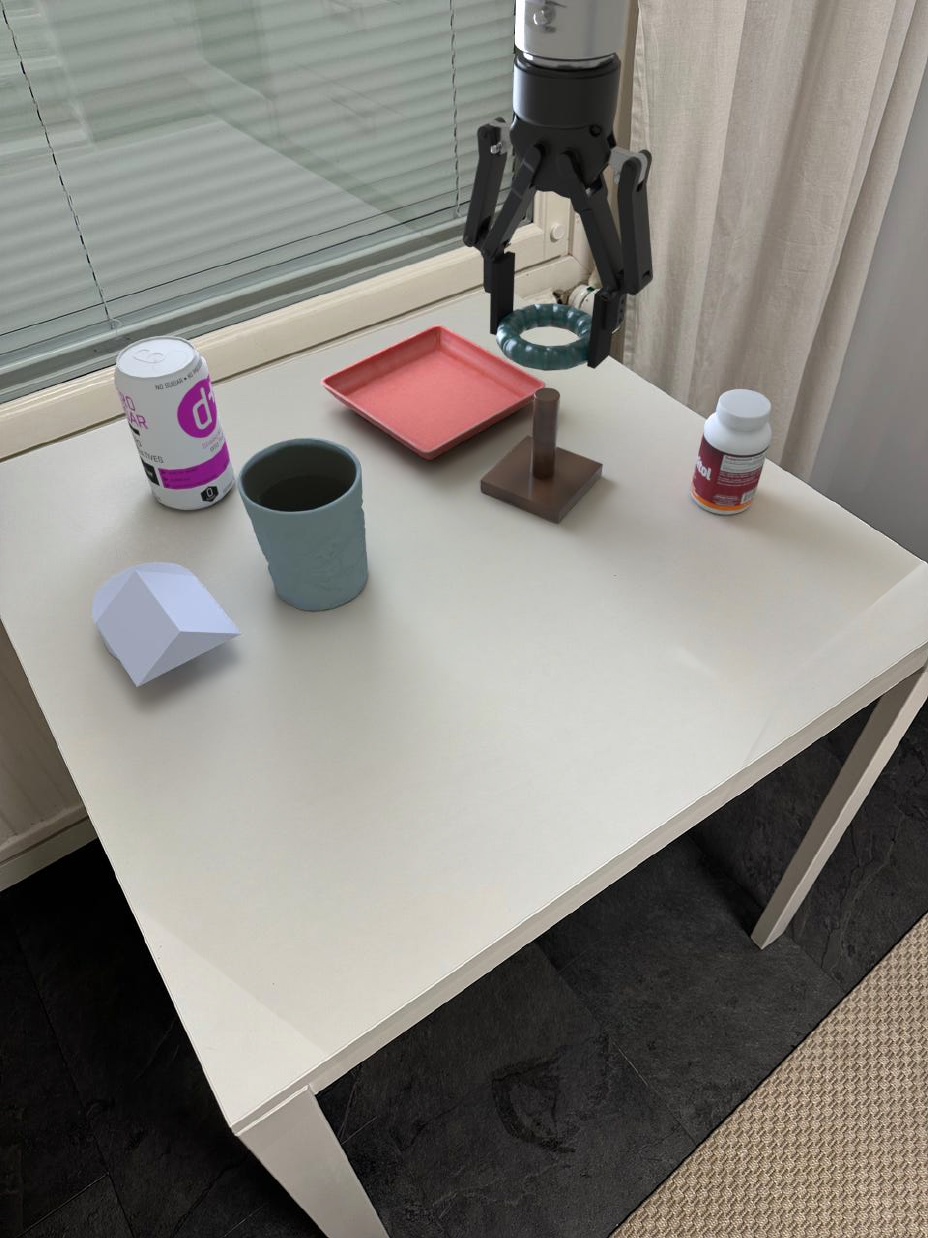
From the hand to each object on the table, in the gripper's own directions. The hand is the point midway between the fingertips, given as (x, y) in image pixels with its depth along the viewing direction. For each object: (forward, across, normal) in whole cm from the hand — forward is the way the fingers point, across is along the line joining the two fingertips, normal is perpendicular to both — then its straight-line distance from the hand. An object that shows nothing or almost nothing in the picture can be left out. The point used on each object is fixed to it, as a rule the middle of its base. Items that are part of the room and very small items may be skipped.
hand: (548, 343), depth 79 cm
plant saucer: (+16, -17, +5) cm, 24 cm away
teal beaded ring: (-1, 0, 0) cm, 1 cm away
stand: (+16, 0, 0) cm, 16 cm away
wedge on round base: (+16, -16, -36) cm, 42 cm away
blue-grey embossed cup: (+16, -10, -23) cm, 30 cm away
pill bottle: (+16, +16, +8) cm, 24 cm away
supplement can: (+16, -29, -20) cm, 39 cm away
